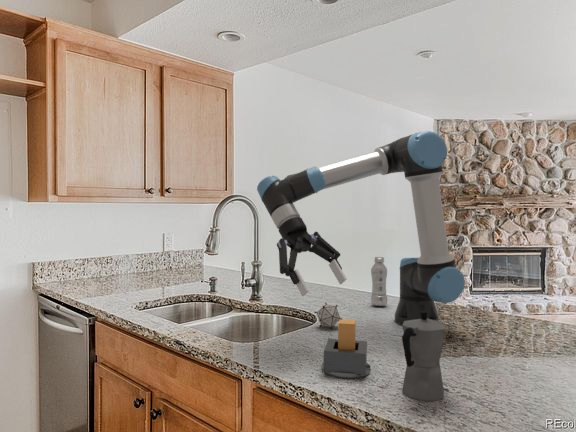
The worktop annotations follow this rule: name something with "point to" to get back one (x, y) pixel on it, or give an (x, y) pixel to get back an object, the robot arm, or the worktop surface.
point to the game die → (328, 315)
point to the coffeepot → (423, 358)
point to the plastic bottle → (379, 283)
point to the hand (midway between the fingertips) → (325, 287)
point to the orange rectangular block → (346, 334)
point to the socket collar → (345, 360)
